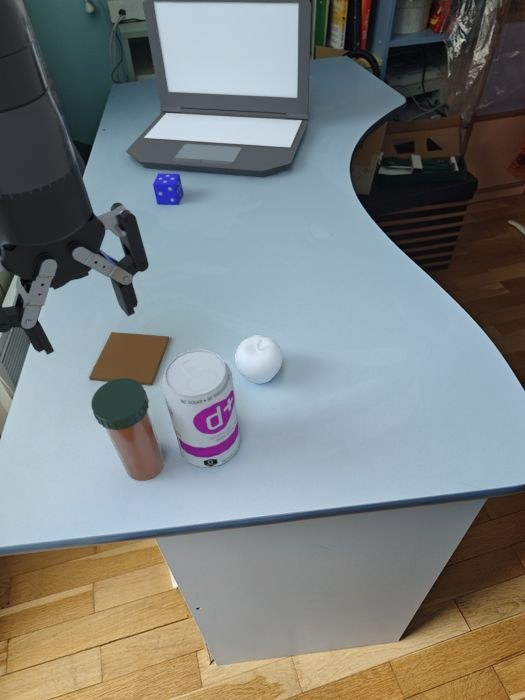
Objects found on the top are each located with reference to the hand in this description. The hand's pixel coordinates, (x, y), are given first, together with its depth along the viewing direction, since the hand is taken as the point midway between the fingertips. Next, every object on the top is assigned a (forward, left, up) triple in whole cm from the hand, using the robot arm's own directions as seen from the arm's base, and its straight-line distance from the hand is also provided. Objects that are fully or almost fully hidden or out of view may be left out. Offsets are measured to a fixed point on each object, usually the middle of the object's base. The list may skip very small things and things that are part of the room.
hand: (89, 328), depth 46 cm
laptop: (+94, +9, -25) cm, 98 cm away
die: (+67, +15, -25) cm, 73 cm away
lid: (0, 0, -11) cm, 11 cm away
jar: (0, 0, -25) cm, 25 cm away
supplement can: (+4, -8, -25) cm, 27 cm away
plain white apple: (+17, -13, -25) cm, 33 cm away
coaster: (+18, +8, -25) cm, 32 cm away
